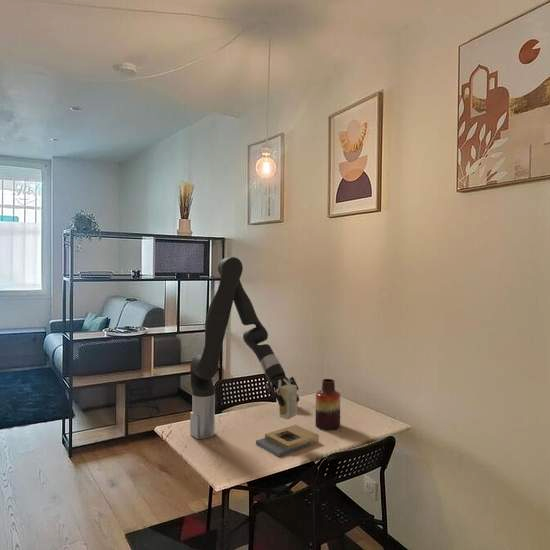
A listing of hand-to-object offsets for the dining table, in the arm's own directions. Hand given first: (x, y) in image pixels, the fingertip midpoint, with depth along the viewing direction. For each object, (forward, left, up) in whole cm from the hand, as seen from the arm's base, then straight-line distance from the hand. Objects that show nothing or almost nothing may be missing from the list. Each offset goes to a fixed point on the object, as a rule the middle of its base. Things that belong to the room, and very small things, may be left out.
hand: (290, 403), depth 175 cm
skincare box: (0, +1, -6) cm, 6 cm away
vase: (+26, +4, -17) cm, 31 cm away
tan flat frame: (0, +1, -16) cm, 16 cm away
